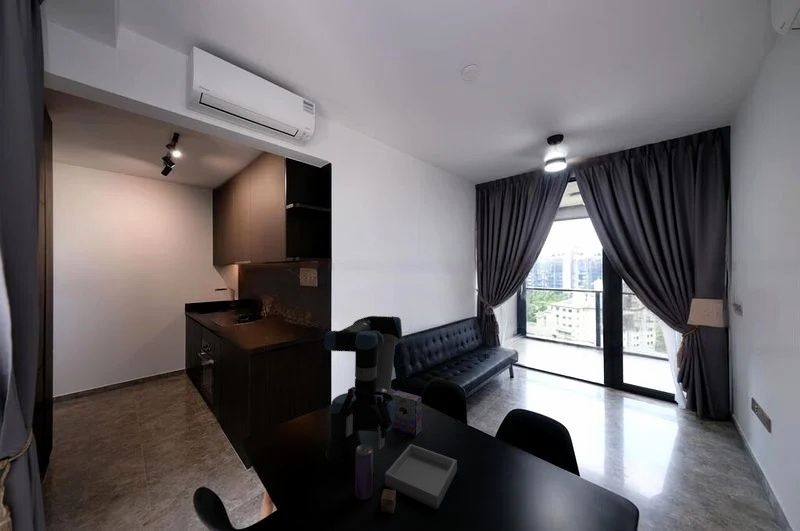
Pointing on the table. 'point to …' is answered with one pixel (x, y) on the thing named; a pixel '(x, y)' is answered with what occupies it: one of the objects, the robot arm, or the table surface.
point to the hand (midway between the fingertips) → (364, 440)
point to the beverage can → (364, 472)
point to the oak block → (388, 501)
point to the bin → (422, 475)
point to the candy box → (407, 413)
